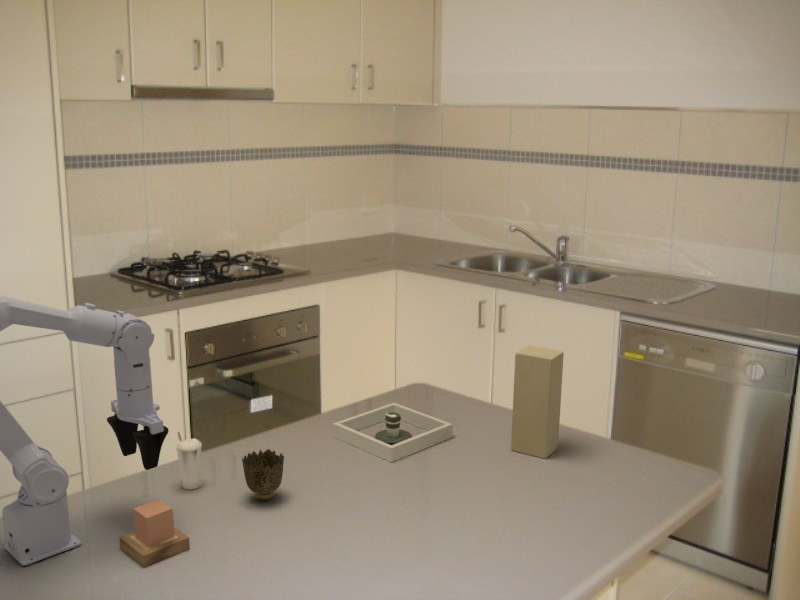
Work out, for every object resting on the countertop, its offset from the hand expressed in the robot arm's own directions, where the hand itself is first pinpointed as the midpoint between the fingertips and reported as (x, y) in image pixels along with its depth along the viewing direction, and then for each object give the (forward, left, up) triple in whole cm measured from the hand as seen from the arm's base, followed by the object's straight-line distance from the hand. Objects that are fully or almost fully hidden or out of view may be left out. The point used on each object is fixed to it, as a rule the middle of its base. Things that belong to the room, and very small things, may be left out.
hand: (140, 460), depth 145 cm
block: (-4, -11, -8) cm, 14 cm away
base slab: (-4, -11, -10) cm, 16 cm away
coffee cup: (+55, -5, -10) cm, 56 cm away
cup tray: (+55, -5, -10) cm, 56 cm away
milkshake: (+12, +5, -11) cm, 17 cm away
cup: (+19, -9, -11) cm, 24 cm away
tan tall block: (+72, -30, -11) cm, 79 cm away
